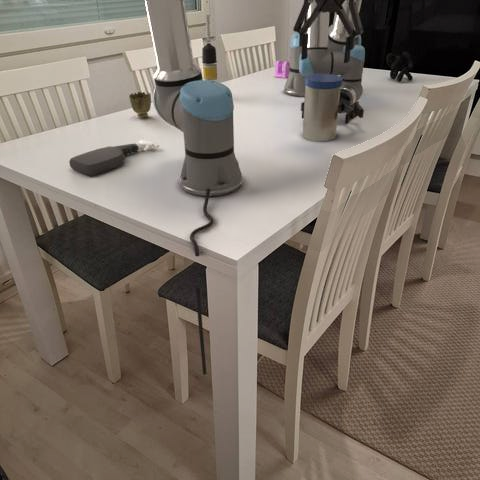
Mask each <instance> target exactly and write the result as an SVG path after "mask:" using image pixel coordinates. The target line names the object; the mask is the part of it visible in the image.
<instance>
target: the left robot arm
mask: <svg viewBox="0 0 480 480" xmlns="http://www.w3.org/2000/svg"><path fill="white" fill-rule="evenodd" d="M344 1H345V0H315V2H316V4H317V6H316V7H315V9H314V10H313V12H312V14H311V15H310V17H309V18H308V19H307V12H308V10H309V8H310V5H311V3H312V2H313V0H303V4H302V6H301V9H300V11H299V14H298V16H297V19H296V21H295V24H294V26H293V28H292V29H293V30H292V31H293V32H294V33H297V32H298V33H299V35H300V36H299V46H302V54H301V59H302V60H304V59H306V58H307V53H308V36H309V34H305V33H307V30H308V29H309V27H310V26H311V25H312V23H313V22H314V21H315V19H316V18H317V16H318V15H319V14H320V13H321V12H324V13H325V12H330V14H333V13H334V14H335V12H336V14H337V15H338V16H339V18H340V20H341V22H342V23H343V25H344V27H345V29H346V31H347V32H348V34H349V36H348V37H346V46H345V56H344V63H347V62H349V60H350V51H351V50H353V49H354V46H355V38H356V36H357V35H360V36H361V35H362V34H363V33H364V28H363V24H362V22H361V17H360V14H359V13H360V12H359V13H358V9H357V5H356V0H346V1H347V4H349V8H350V12H351V16H352V20H353V23H354V27H355V29H354V28H353V26H352V24H351V22H350V20H349V18H348V17H347V15H346V13H345V10H344V8H343V6H342V4H343V3H344ZM144 3H145V7H146V12H147V18H148V24H149V28H150V33H151V39H152V44H153V48H154V53H155V58H156V64H157V70H156V72H155V73H154V74H153V80H154V86H155V87H154V89H153V92H152V102H153V103H152V104H153V106H154V109H155V111H156V113H157V114H158V115H159V117H160V118H161V119H162V120H163V121H164V122H165V123H167V124H169V125H171V126H172V127H175V128H176V129H177V130H179V131H180V132H182V133H183V143H184V154H185V155H184V158H183V164H182V168H181V171H180V177H179V178H180V179H179V183H180V184H179V185H180V188H181V189H182V191H184V192H186V193H187V194H190V195H194V196H199V197H204V202H203V207H202V211H203V214H204V216H205V217H206V218H207V219H208V220H209V222H208V223H206V224H204V225H201V226H199V227H197V228H195V229H194V230H192V231H191V232H190V234H189V240H190V242H191V243H192V245H193V248H194V256H195V257H199V256H200V249H199V248H200V247H199V244H198V242H197V240H196V239H195V235H197V233H199V232H202V231H204V230H206V229H208V228H210V227H211V226H212V225H213V224H214V221H215V220H214V217H213V216H212V215H210V213H208V203H209V198H210V197H221V196H224V195H229V194H232V193H234V192H235V191H237V190H239V189H240V188H241V187H242V185H243V174H242V171H241V168H240V163H239V160H238V158H237V157H236V154H235V132H234V131H235V130H234V127H235V126H234V109H235V105H234V100H233V98H234V97H233V93H232V91H231V89H230V88H229V87H228V86H227V85H226V84H223V83H222V82H219V81H215V82H212V81H213V80H212V81H208V80H204V77H203V72H202V68H200V67H199V66H198V65H196V64H195V61H194V55H193V49H192V43H191V36H190V30H189V23H188V16H187V9H186V3H185V0H144ZM305 19H306V21H305ZM195 293H196V296H195V297H196V311H197V322H198V334H199V344H200V345H199V346H200V355H201V366H202V375H204V376H205V375H207V363H206V352H205V351H206V350H205V339H204V330H203V329H204V328H203V327H204V326H203V315H202V302H201V301H202V300H201V299H202V298H201V288H200V287H198V286H195Z"/></svg>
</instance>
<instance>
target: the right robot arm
mask: <svg viewBox="0 0 480 480" xmlns="http://www.w3.org/2000/svg"><path fill="white" fill-rule="evenodd" d="M362 1H363V0H356V5H357V9H358V13H360V10H361V6H362ZM316 6H317V4H316V2H315V0H313V2H312V3H311V5H310V8H309V10H308V12H307V15H306V20H307V19H308V18H309V17H310V15H311V14H312V12H313V10H314V9H315V7H316ZM342 6H343V8H344V10H345V13H346V15H347V17H348V18H349V20H350V22H351V24H352V26H353V28H354V29H355V27H354V23H353V20H352V16H351V12H350V8H349V4H347V1H346V0H345V1H344V3H343V4H342ZM330 15H331V13H330V12H325V13H324V12H321V13H320V14H319V15H318V16H317V18H316V19H315V21H314V22H313V23H312V25H311V26H310V27H309V29H308V30H307V33H305V34H309V36H308V53H307V58H306V59H304V60H302V59H301V54H302V46H299V36H300V35H299V33H298V32H294V33H293V34H292V35H291V37H290V45H289V49H290V51H289V62H290V69H289V75H288V77H287V78H286V81H285V84H284V87H283V88H284V89H283V92H284V94H286V95H288V96H293V97H302V98H303V97H304V98H305V84H304V80H305V77H306V76H308V75H312V74H332V75H338V76H341V77H342V78H343V82H342V86H341V88H340V98H339V108H338V114H345V116H344V125H348V124H349V122H350V121H351V120H355V119H356V118H357V117H358V118H360V119H363V118H364V112H365V109H364V108H363V107H362V106H361V105H360V101H358V100H359V99H360V98H361V96H362V94H363V93H364V92H363V90H364V88H363V85H362V82H363V72H364V66H365V65H364V64H365V61H366V60H365V56H366V49H365V47H364V46H363V45H362V36H361V34H360V35H357V36H356V38H355V46H354V49H353V50H351V51H350V60H349V62H347V63H344V56H345V46H346V37H348V36H349V34H348V32H347V31H346V29H345V27H344V25H343V23H342V22H341V20H340V18H339V16H338V15H337V14H336V12H334V17H333V22H332V24H331V25H330ZM304 102H305V101H303V102H301V103H300V104H301V105H300V111H301V119H304Z"/></svg>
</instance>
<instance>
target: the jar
mask: <svg viewBox="0 0 480 480" xmlns="http://www.w3.org/2000/svg"><path fill="white" fill-rule="evenodd" d="M340 88H341V86H340V87H337V88H330V89H319V88H312V87H308V86H306V85H305V97H304V101H303V102H304V119H303V120H302V123H303V124H302V137H303V138H304V139H306V140H307V141H312V142H329V141H332V140H335V139H336V136H337V128H338V117H339V113H338V108H339V98H340Z"/></svg>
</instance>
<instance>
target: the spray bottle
mask: <svg viewBox="0 0 480 480" xmlns="http://www.w3.org/2000/svg"><path fill="white" fill-rule="evenodd" d="M159 148H160V145H159V144H158V143H155V142H151V141H148V140H144V139H139V140H138V141H137V142H135V143H129V144H128V143H126V144H122V145H113V146H105V147H100V148H97V149H94V150H90V151H87V152H83V153H81V154H78V155H74V156H73V157H70V159H69V161H68V162H69V167H70V168H71V169H72V170H74V171H75V172H78V173H81V174H83V175H85V176H89V177H90V176H91V177H92V176H95V175H99V174H102V173H105V172H107V171H110V170H113V169H116V168H118V167H120V166H122V165H123V164H124V163H125V158H126V156H127V155H131V154H133V153H138V151H140V150H143V151H144V152H146V151H147V150H149V149H159Z"/></svg>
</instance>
